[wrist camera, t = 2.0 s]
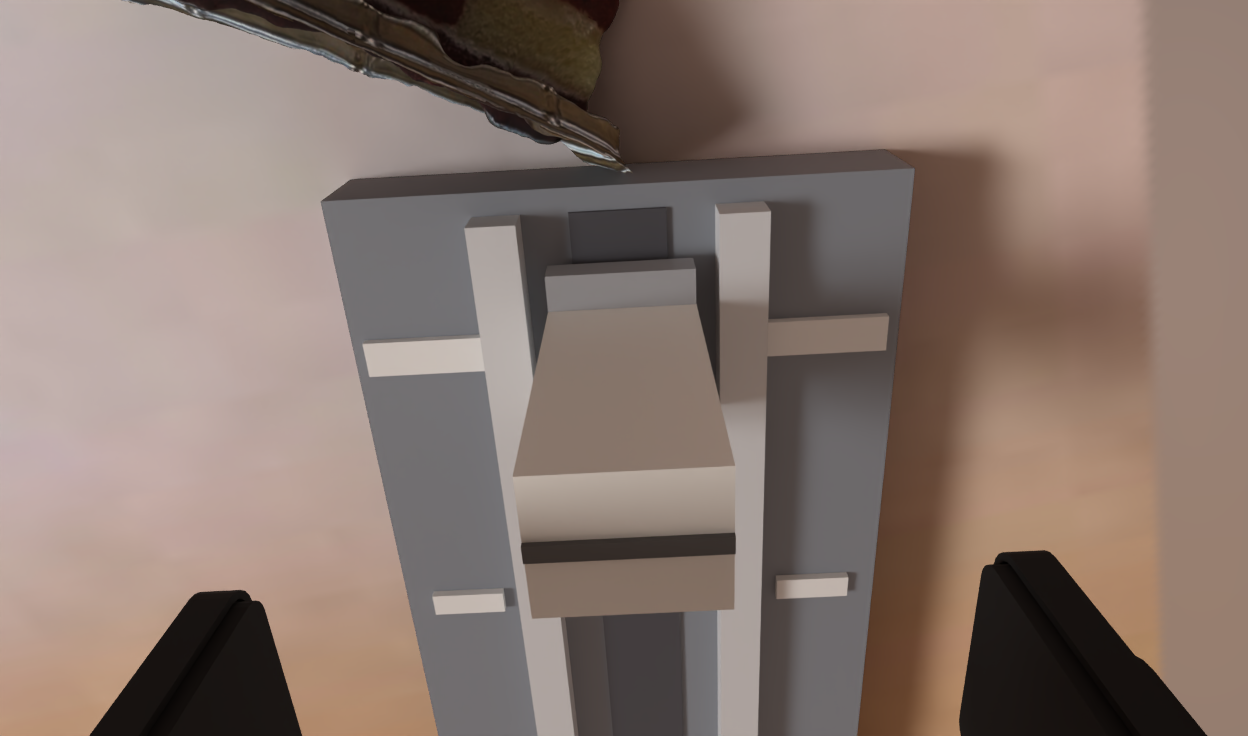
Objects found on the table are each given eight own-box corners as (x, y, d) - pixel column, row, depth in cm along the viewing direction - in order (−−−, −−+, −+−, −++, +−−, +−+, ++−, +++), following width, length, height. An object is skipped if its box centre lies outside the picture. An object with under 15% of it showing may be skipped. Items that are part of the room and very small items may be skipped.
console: (350, 179, 18) (307, 211, 16) (884, 149, 18) (928, 177, 15) (483, 838, 28) (470, 922, 25) (827, 824, 28) (848, 907, 25)
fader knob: (547, 265, 16) (505, 432, 10) (693, 257, 16) (736, 420, 10) (563, 433, 18) (536, 661, 12) (696, 427, 18) (735, 652, 12)
